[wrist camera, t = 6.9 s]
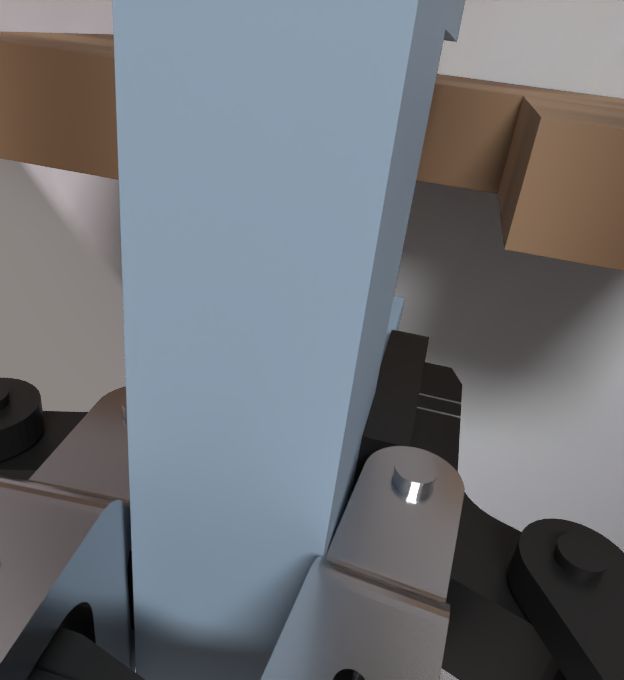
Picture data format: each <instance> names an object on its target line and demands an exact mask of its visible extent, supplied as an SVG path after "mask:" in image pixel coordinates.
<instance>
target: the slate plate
mask: <svg viewBox="0 0 624 680" xmlns="http://www.w3.org/2000/svg"><path fill="white" fill-rule="evenodd" d="M112 1H113V30H114V58H115V87H116V115H117V144H118V172H119V200H120V229H121V257H122V286H123V314H124V341H125V370H126V400H127V428H128V457H129V485H130V514H131V542H132V571H133V599H134V628H135V656H136V673H137V674H138V675H140V676H141V677H142V678H144V679H145V680H261V678H262V675H263V673H264V671H265V669H266V666H267V664H268V662H269V660H270V657H271V655H272V653H273V651H274V648H275V646H276V644H277V642H278V639H279V637H280V635H281V633H282V630H283V628H284V626H285V624H286V621H287V619H288V617H289V615H290V612H291V610H292V608H293V606H294V604H295V601H296V599H297V597H298V595H299V592H300V590H301V588H302V586H303V583H304V581H305V579H306V577H307V574H308V572H309V570H310V568H311V566H312V564H313V562H314V561H315V559H316V558H317V557H322V558H325V556H326V554H327V552H328V549H329V547H330V545H331V542H332V540H333V538H334V535H335V533H336V531H337V528H338V526H339V524H340V521H341V519H342V516H343V514H344V512H345V509H346V507H347V505H348V502H349V500H350V498H351V493H352V488H353V482H354V477H355V472H356V466H357V461H358V455H359V450H360V445H361V439H362V435H363V432H364V428H365V425H366V422H367V418H368V415H369V412H370V408H371V405H372V402H373V398H374V395H375V391H376V386H377V381H378V375H379V370H380V365H381V362H382V359H383V356H384V352H385V349H386V346H387V343H388V339H389V336H390V333H391V330H397V331H398V329H399V324H400V319H401V314H402V309H403V305H404V300H405V298H402V297H397V296H394V293H395V288H396V282H397V277H398V272H399V267H400V262H401V257H402V251H403V246H404V241H405V236H406V231H407V226H408V220H409V215H410V210H411V205H412V200H413V195H414V189H415V184H416V179H417V174H418V169H419V164H420V158H421V153H422V148H423V143H424V138H425V133H426V127H427V122H428V117H429V112H430V107H431V102H432V96H433V91H434V86H435V81H436V76H437V71H438V65H439V60H440V55H441V50H442V45H443V40H448V41H456V42H457V39H458V34H459V29H460V24H461V19H462V14H463V9H464V4H465V0H112Z"/></svg>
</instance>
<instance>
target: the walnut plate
mask: <svg viewBox="0 0 624 680" xmlns="http://www.w3.org/2000/svg"><path fill="white" fill-rule="evenodd" d="M0 158H2V159H7V160H13V161H18V162H24V163H29V164H35V165H40V166H46V167H52V168H57V169H63V170H68V171H74V172H79V173H85V174H90V175H96V176H101V177H107V178H112V179H118V180H119V172H118V144H117V115H116V87H115V58H114V35H110V34H72V33H34V32H0ZM416 180H417V181H423V182H429V183H435V184H441V185H447V186H453V187H459V188H465V189H471V190H477V191H484V192H490V193H496V194H498V200H499V208H500V216H501V224H502V233H503V241H504V249H505V250H511V251H516V252H522V253H528V254H533V255H539V256H544V257H550V258H555V259H561V260H566V261H572V262H577V263H583V264H588V265H594V266H600V267H605V268H611V269H616V270H622V271H624V99H620V98H613V97H605V96H598V95H590V94H583V93H575V92H568V91H560V90H553V89H545V88H538V87H530V86H523V85H515V84H508V83H500V82H493V81H485V80H478V79H470V78H463V77H455V76H448V75H440V74H437V76H436V81H435V86H434V91H433V96H432V102H431V107H430V112H429V117H428V122H427V127H426V133H425V138H424V143H423V148H422V153H421V158H420V164H419V169H418V174H417V179H416Z"/></svg>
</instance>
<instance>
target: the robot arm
mask: <svg viewBox="0 0 624 680" xmlns="http://www.w3.org/2000/svg"><path fill="white" fill-rule="evenodd" d="M428 340H429V337H425V336H420V335H416V334H411V333H406V332H401V331H397V330H391V333H390V336H389V339H388V343H387V346H386V349H385V352H384V356H383V359H382V362H381V365H380V370H379V375H378V381H377V386H376V391H375V395H374V398H373V402H372V405H371V408H370V412H369V415H368V418H367V422H366V425H365V428H364V432H363V435H362V439H361V445H360V450H359V455H358V461H357V466H356V472H355V477H354V482H353V488H352V493H351V498H350V500H349V502H348V505H347V507H346V509H345V512H344V514H343V516H342V519H341V521H340V524H339V526H338V528H337V531H336V533H335V535H334V538H333V540H332V542H331V545H330V547H329V549H328V552H327V554H326V556H325V558H322V557H317V558H316V559H315V561H314V562H313V564H312V566H311V568H310V570H309V572H308V574H307V577H306V579H305V581H304V583H303V586H302V588H301V590H300V592H299V595H298V597H297V599H296V601H295V604H294V606H293V608H292V610H291V612H290V615H289V617H288V619H287V621H286V624H285V626H284V628H283V630H282V633H281V635H280V637H279V639H278V642H277V644H276V646H275V648H274V651H273V653H272V655H271V657H270V660H269V662H268V664H267V666H266V669H265V671H264V673H263V675H262V678H261V680H440V674H441V668H442V669H444V670H445V671H447V672H448V673H450V674H451V675H453V676H454V677H456V678H458V679H459V680H624V553H623V552H622V551H621V550H620V549H619V548H618V547H617V546H616V545H615V544H614V543H612V542H611V541H610V540H609V539H607V538H606V537H604V536H603V535H601V534H599V533H598V532H596V531H594V530H592V529H590V528H588V527H586V526H583V525H581V524H578V523H575V522H572V521H567V520H562V519H542V520H538V521H535V522H533V523H531V524H529V525H528V526H527V527H525V529H524V530H523V531H522V532H520V531H518V530H516V529H514V528H512V527H510V526H508V525H506V524H505V523H503V522H501V521H499V520H497V519H495V518H493V517H492V516H490V515H488V514H487V513H485V512H484V511H483V510H481V509H480V508H479V507H478V506H476V505H475V504H474V503H473V502H472V501H471V500H470V498H469V497H468V496H467V495H466V493H465V492H464V484H463V481H462V479H461V477H460V475H459V474H458V453H459V434H460V415H461V396H462V384H461V382H460V381H459V379H458V378H457V376H456V374H455V373H454V371H453V370H452V368H449V367H444V366H440V365H435V364H430V363H426V362H425V357H426V352H427V346H428ZM135 667H136V656H135V628H134V599H133V571H132V542H131V514H130V485H129V457H128V428H127V400H126V387H122V388H119V389H116V390H114V391H112V392H110V393H108V394H107V395H105V396H103V397H102V398H101V399H100V400H99V401H98V402H97V403H96V404H95V405H94V406H93V408H92V409H91V410H90V411H89V412H59V411H58V412H57V411H42V404H41V396H40V393H39V391H38V390H37V388H36V387H34V386H33V385H32V384H30V383H28V382H26V381H22V380H19V379H13V378H0V680H145V679H144V678H142V677H141V676H140V675H138V674H137V673H135Z"/></svg>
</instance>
